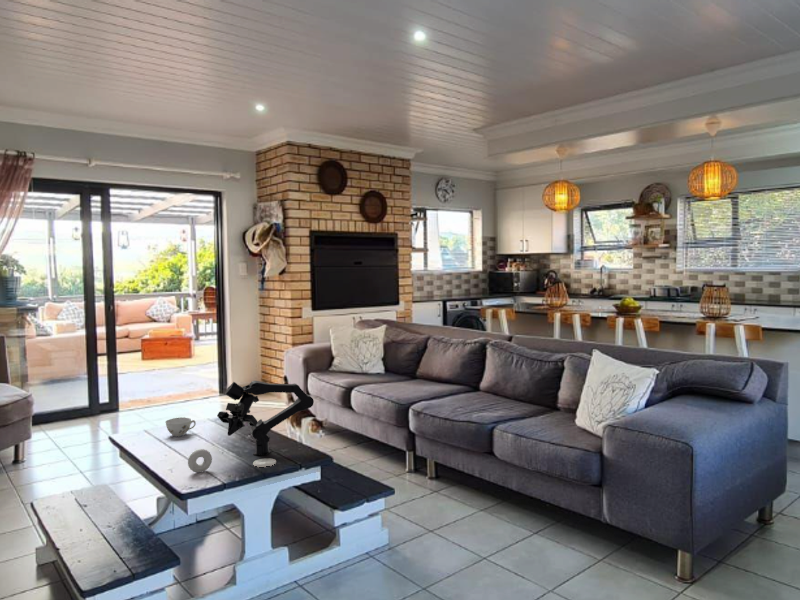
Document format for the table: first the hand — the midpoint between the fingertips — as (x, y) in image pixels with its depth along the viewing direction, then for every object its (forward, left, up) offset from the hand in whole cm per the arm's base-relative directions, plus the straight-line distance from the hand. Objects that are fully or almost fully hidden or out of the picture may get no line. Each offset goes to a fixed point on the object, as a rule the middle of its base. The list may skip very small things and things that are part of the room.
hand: (228, 435), depth 257 cm
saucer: (-2, +16, -13) cm, 20 cm away
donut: (+12, -7, -13) cm, 19 cm away
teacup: (-41, -47, -13) cm, 64 cm away
